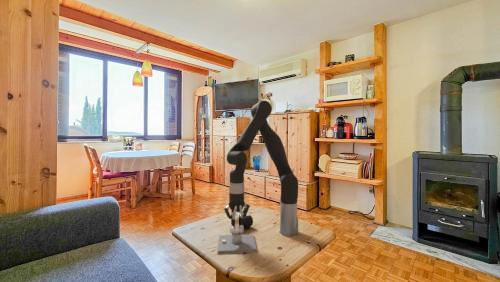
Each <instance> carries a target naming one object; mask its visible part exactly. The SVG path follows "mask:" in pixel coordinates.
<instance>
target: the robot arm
mask: <svg viewBox="0 0 500 282" xmlns="http://www.w3.org/2000/svg"><path fill="white" fill-rule="evenodd" d="M272 112H273V111H272V104H271V103H270V102H269V101H267V100H261V101H258V102H256V103H255V104H254V105H252V107H251V109H250V115H251V117H252V119H251V121H250V122H249V124H247V126H246V127H245V128H244V130H243V131H242V133H241V135H240V136H239V138H238V139H237V142H235V144H234V145H233V146H232V147H231V148H230V149H229V151H227V152H228V153H227V154H226V162H227V163H228V164H229V165H232V166H235V168H234V169H231V170H230V171H229V184H228V185H229V186H228V193H229V195H228V201H229V202H228V205H226V206H223V210H224V213H225V214H226V216H227V218H228V219H230V220H231V221H230V224H231V225H232V226H233V227H235V215H236V214H239V225H240V226H241V224H242V218H243V217H244V216H247V214H248V212H249V209H250V207H251V206H250V204H249V203H246V202H245V191H246V190H245V180H244V179H245V171H246V167H247V164H248V156H247V153H246V152H247V151H249V149H250V148H251V146H252V145H253V142H254V140H255V139H256V137H257V135H258V133H260V135H261V138H262V140H263V142H264V145H265V148H266V151H267V153H268V155H269V157H270V159H271V161H272V163H273V164H274V166H275V168H276V170H277V174H278V177H279V181H280V196H279V197H280V199H279V200H280V207H279V208H280V209H279V213H280V214H279V216H280V217H279V218H280V220H279V222H280V223H279V226H280V227H279V232H280V234H281V235H283V236H285V237H286V236H287V237H294V236H297V235H299V216H298V198H299V179H298V178H297V176H296V175H295V174H294V172H293V170H292V168H291V167H290V164H289V161H288V158H287V157H288V156H287V154H286V149H285V146H284V144H283V142H282V139H281V137H280V136H279V134H278V133H277V132H275V131H274V129H273V128H272V127H271V126H270V124H269V123H268V118H269V117H270V115H271V113H272ZM230 213H231V214H230Z"/></svg>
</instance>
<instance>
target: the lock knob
mask: <svg viewBox="0 0 500 282" xmlns="http://www.w3.org/2000/svg"><path fill="white" fill-rule="evenodd" d="M244 232H245V228H244V226H243V225H241V226H240V225H239V214H238V213H236V215H235V227H233V226H232V224H231V225H230V226H229V234H230V235H232V234H234V235H239V234H242V235H243V234H244Z"/></svg>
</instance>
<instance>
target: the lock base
mask: <svg viewBox="0 0 500 282" xmlns="http://www.w3.org/2000/svg"><path fill="white" fill-rule="evenodd" d="M257 250H258V249H257V245H256V241H255V235H254V233H250V234H249V233H248V234H244V233H242V234H239V235H234V234H219V237H218V245H217V254H219V255H220V254H235V253H236V254H239V253H257V252H258V251H257Z"/></svg>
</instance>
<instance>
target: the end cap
mask: <svg viewBox="0 0 500 282" xmlns="http://www.w3.org/2000/svg"><path fill="white" fill-rule="evenodd" d="M253 224H254V219H253V217H252V216H251V215H250V214H249V215H246V216H244V217H243V218H242V224H241V225H243V226H244V229H247V228H250V227H252V226H253Z"/></svg>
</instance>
